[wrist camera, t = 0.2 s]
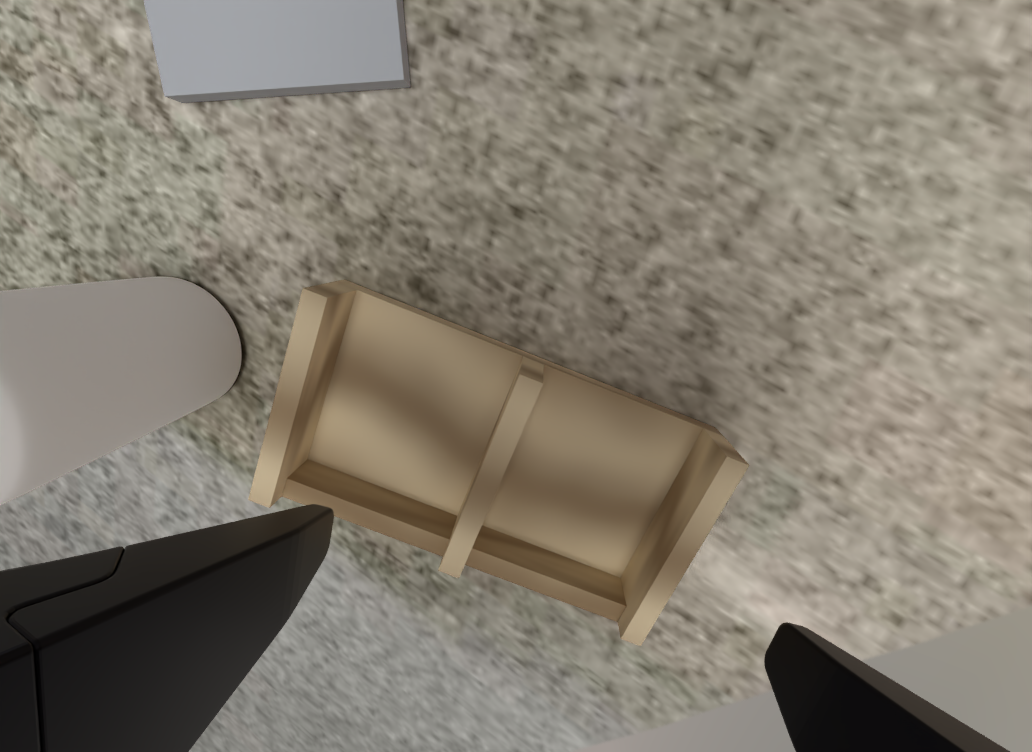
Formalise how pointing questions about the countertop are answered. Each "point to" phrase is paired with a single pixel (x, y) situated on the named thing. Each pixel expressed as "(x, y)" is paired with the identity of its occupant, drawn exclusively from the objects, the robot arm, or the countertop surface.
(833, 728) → the robot arm
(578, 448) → the rack
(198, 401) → the can
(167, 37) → the block
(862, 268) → the countertop surface
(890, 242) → the countertop surface
